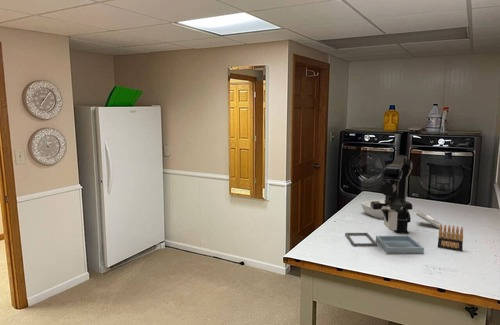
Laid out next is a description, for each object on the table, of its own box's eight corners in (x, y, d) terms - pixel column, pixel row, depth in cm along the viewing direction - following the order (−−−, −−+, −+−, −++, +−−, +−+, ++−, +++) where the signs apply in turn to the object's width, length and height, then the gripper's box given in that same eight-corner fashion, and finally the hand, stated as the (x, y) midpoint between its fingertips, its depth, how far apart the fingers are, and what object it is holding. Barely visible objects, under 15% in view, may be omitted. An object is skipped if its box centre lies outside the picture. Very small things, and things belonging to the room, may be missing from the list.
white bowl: (380, 221, 226) (381, 209, 225) (358, 213, 244) (358, 202, 243) (405, 217, 234) (406, 205, 233) (382, 209, 252) (382, 198, 251)
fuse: (390, 224, 189) (391, 207, 188) (396, 230, 180) (397, 212, 179) (384, 224, 190) (384, 207, 188) (389, 230, 180) (390, 212, 179)
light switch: (442, 226, 210) (418, 211, 215) (436, 234, 212) (412, 220, 217) (442, 222, 217) (419, 208, 222) (436, 230, 219) (413, 216, 224)
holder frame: (367, 234, 202) (367, 232, 202) (377, 246, 186) (377, 244, 185) (345, 234, 203) (345, 232, 202) (353, 246, 186) (353, 244, 186)
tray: (409, 241, 192) (409, 235, 192) (423, 254, 175) (423, 247, 175) (375, 241, 192) (376, 235, 192) (387, 254, 176) (387, 247, 175)
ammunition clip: (462, 250, 179) (464, 226, 178) (462, 251, 178) (464, 227, 176) (437, 246, 185) (439, 222, 183) (437, 247, 183) (438, 223, 182)
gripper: (377, 195, 175) (375, 227, 177) (417, 195, 174) (416, 227, 176) (370, 190, 186) (369, 220, 188) (408, 190, 185) (407, 220, 187)
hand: (390, 222), depth 185 cm, fingers closed on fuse, 3 cm apart
